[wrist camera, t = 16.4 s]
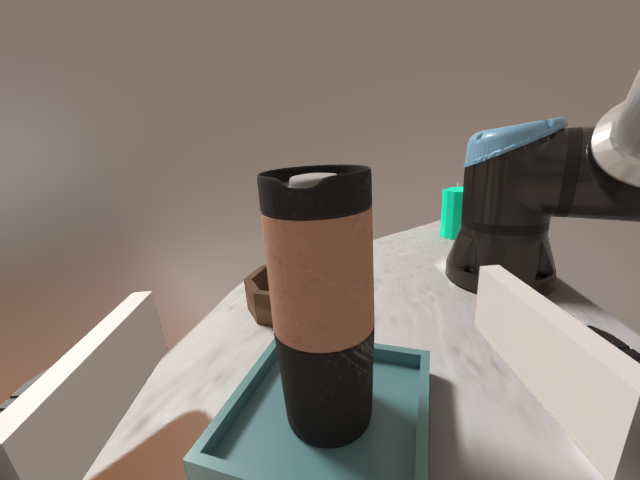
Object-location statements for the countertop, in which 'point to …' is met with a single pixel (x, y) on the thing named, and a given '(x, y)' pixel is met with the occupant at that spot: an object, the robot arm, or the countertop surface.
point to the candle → (451, 212)
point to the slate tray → (308, 461)
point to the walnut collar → (259, 296)
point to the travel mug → (322, 296)
